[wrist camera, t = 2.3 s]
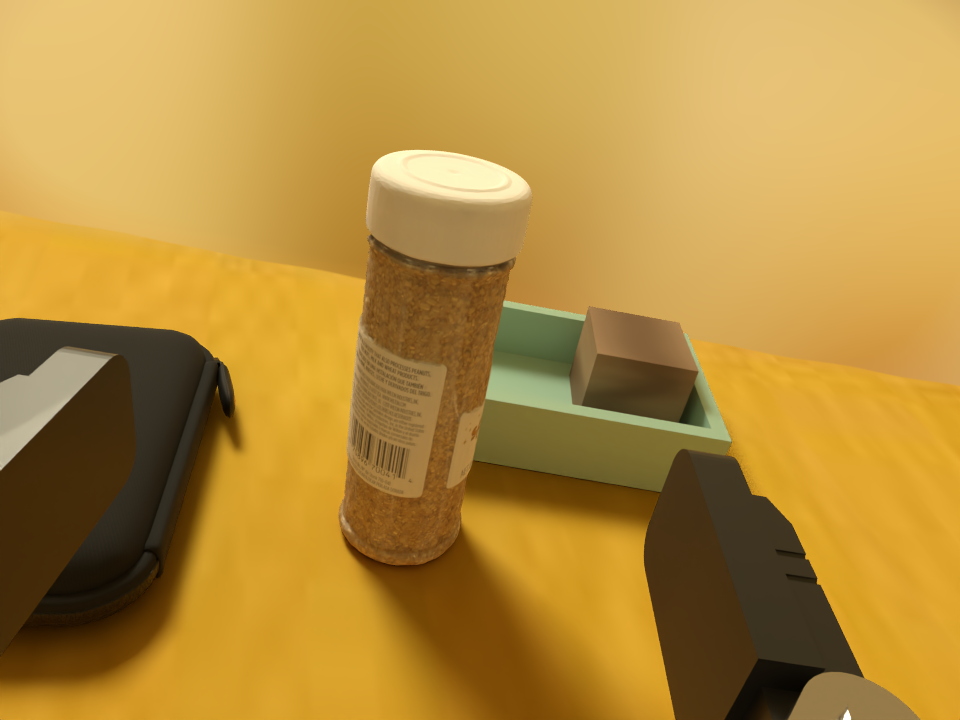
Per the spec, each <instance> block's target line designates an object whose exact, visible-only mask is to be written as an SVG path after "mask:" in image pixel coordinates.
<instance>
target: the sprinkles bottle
mask: <svg viewBox="0 0 960 720" xmlns="http://www.w3.org/2000/svg"><path fill="white" fill-rule="evenodd" d="M531 203H532V192H531V189H530V187H529V185H528V184H527V183H526V181H525V180H524V179H522V178H521V177H520V176H519V175H517V174H516V173H514V172H512V171H510V170H508V169H506V168H504V167H501V166H499V165H497V164H495V163H492V162H488V161H485V160H482V159H479V158H475V157H471V156H467V155H462V154H457V153H450V152H443V151H431V150H408V151H399V152H394V153H390V154H388V155H385V156H383V157H381V158H380V159H379V160H378V161H377V162H376V163H375V164H374V166H373V168H372V172H371V178H370V186H369V193H368V204H367V213H366V225H367V228H368V230H369V231H370V233H371V235H370V236H368V238H367V239H368V242H369V244H370V249H369V258H368V262H367V272H366V283H365V294H364V301H363V302H364V303H363V312H362V314H361V316H360V321H359V330H358V340H357V349H356V359H355V369H354V379H353V389H352V399H351V409H350V420H349V431H348V442H347V454H348V467H347V473H346V483H345V496H344V498H343V500H342V503H341V505H340V509H339V521H340V527H341V530H342V533H343V534H344V535H345V537H346V539H347V540H348V541H349V542H350V543H351V545H352V546H354V547H355V548H357V550H358V551H360V552H361V553H363V554H364V555H366V556H368V557H370V558H373V559H374V560H376V561H379V562H383V563H387V564H391V565H417V564H424V563H426V562H428V561H430V560H433V559H436V558H437V557H439V556H440V555H442V554H443V553H444V552H445V551H446V550H447V549H448V548H449V547H450V546H451V545H452V544H453V543H454V542H455V540H456V538H457V536H458V534H459V529H460V526H461V512H460V511H461V505H462V501H463V496H464V491H465V486H466V480H467V476H468V473H469V471H470V468H471V466H472V461H473V456H474V452H475V447H476V442H477V437H478V433H479V428H480V423H481V418H482V413H483V408H484V403H485V398H486V393H487V388H488V384H489V379H490V373H491V367H492V360H493V349H494V343H495V339H496V335H497V332H498V326H499V322H500V317H501V312H502V308H503V302H504V298H505V294H506V286H507V282H508V280H509V272H510V270H511V269H512V268H513V267H514V264H515V260H516V256H517V255H518V254H519V253H520V251H521V250H522V247H523V244H524V239H525V234H526V230H527V225H528V219H529V214H530V209H531Z"/></svg>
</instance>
